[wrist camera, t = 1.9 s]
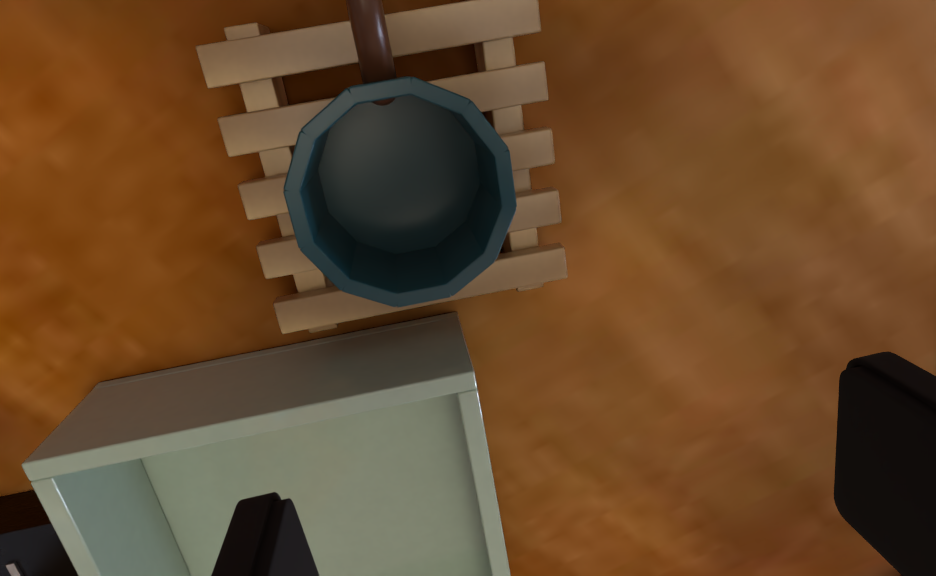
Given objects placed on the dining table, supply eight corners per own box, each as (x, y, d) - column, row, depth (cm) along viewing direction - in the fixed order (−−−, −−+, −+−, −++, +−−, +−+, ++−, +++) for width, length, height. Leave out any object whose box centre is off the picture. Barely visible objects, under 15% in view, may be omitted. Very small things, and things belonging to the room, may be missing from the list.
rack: (214, 35, 23) (189, 29, 20) (518, -15, 24) (535, -27, 21) (295, 318, 27) (284, 346, 24) (551, 268, 28) (569, 289, 25)
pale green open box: (98, 382, 27) (19, 464, 21) (457, 310, 28) (474, 371, 22) (228, 681, 34) (195, 804, 28) (512, 615, 35) (536, 721, 29)
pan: (500, 242, 24) (527, 282, 19) (333, 274, 23) (318, 323, 19) (448, -112, 20) (467, -171, 15) (242, -80, 19) (194, -131, 15)
